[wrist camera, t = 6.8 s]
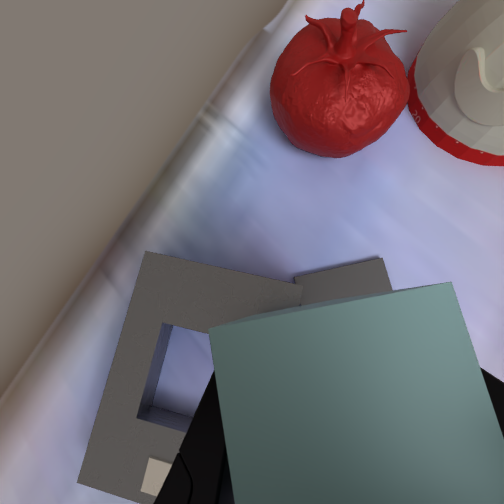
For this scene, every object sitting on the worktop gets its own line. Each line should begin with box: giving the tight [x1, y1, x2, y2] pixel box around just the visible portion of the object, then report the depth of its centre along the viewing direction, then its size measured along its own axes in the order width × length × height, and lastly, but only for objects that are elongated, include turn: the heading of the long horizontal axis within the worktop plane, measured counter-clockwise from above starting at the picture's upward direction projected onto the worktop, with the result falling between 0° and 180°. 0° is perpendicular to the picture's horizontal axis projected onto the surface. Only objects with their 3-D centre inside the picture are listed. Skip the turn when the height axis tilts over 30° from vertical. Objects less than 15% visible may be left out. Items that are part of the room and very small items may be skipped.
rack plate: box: [77, 251, 303, 504], centre depth 21 cm, size 12×16×3 cm
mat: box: [294, 258, 393, 306], centre depth 22 cm, size 7×7×1 cm
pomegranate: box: [270, 0, 410, 158], centre depth 21 cm, size 10×10×9 cm
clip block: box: [208, 282, 504, 504], centre depth 10 cm, size 4×4×11 cm
